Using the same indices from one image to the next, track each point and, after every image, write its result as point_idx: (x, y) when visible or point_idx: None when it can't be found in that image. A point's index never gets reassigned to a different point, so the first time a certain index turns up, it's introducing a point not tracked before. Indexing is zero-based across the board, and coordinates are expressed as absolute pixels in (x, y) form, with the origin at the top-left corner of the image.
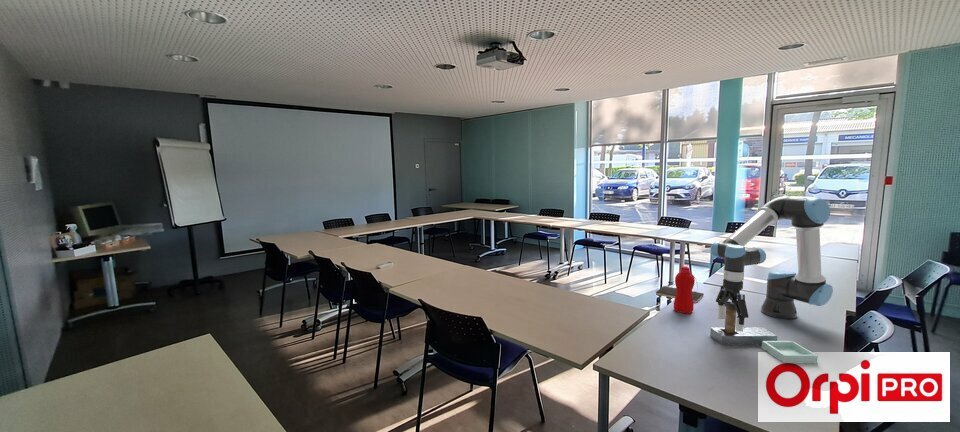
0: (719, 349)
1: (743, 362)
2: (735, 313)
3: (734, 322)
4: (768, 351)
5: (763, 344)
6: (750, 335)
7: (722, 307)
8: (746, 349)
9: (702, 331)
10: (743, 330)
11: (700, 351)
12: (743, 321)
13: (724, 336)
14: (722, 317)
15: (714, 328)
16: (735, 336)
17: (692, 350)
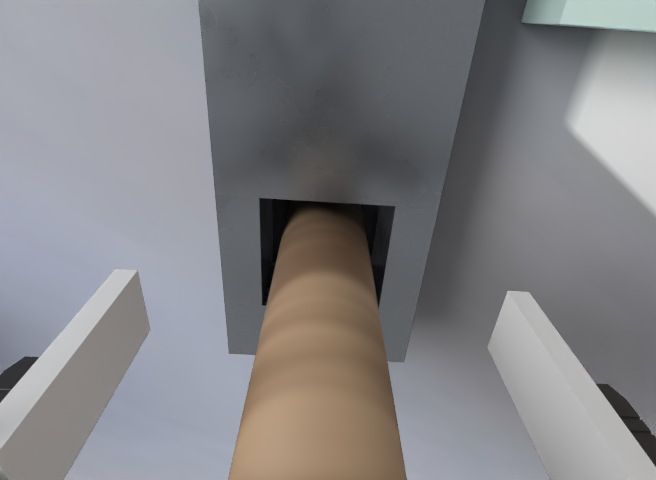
0: (455, 355)
1: (643, 326)
2: (401, 462)
3: (381, 332)
4: (626, 30)
5: (568, 25)
6: (446, 106)
7: (41, 458)
8: (505, 192)
9: (169, 313)
10: (300, 90)
11: (452, 441)
12: (650, 445)
13: (407, 343)
14: (133, 310)
15: (248, 337)
16: (424, 264)
17: (433, 462)
